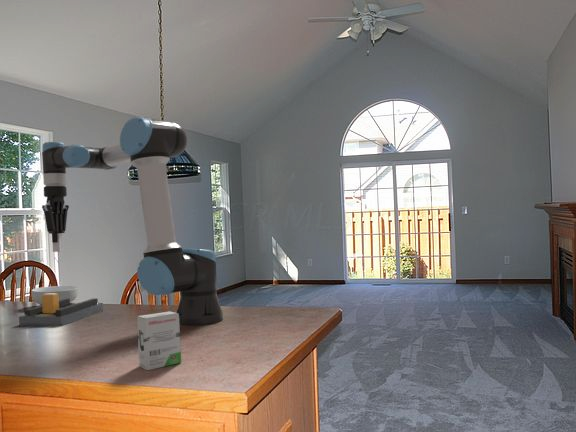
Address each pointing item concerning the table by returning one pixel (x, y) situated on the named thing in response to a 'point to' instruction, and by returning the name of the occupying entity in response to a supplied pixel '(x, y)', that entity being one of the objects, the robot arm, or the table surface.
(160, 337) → the ink box
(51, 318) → the grey slider base
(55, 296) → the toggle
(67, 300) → the dark grey edge bar
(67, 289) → the cereal bowl
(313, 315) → the table surface
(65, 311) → the long dark grey rail
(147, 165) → the robot arm
